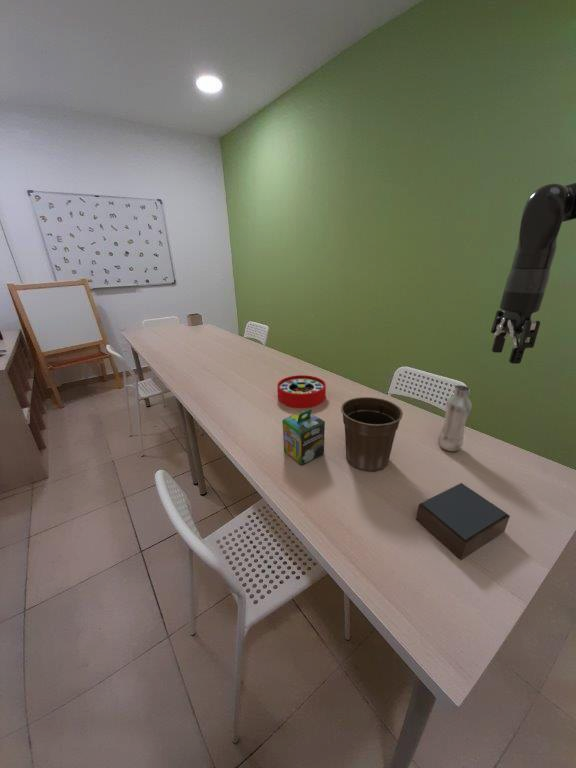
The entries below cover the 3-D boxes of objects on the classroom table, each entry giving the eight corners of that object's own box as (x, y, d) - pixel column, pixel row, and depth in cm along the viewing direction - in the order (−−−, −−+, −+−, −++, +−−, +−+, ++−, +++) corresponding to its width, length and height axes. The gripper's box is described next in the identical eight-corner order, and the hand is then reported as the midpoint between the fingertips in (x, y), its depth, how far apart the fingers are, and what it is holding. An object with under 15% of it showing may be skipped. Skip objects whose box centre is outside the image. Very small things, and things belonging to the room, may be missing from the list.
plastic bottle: (443, 439, 95) (455, 381, 87) (465, 448, 90) (480, 388, 82) (432, 446, 92) (444, 387, 84) (454, 457, 87) (469, 395, 79)
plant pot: (341, 439, 97) (343, 394, 90) (394, 445, 93) (400, 398, 87) (335, 471, 83) (338, 421, 76) (397, 480, 79) (405, 428, 72)
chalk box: (305, 440, 97) (305, 399, 91) (325, 454, 90) (326, 410, 84) (282, 451, 92) (280, 408, 86) (301, 466, 85) (300, 421, 79)
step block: (457, 497, 73) (461, 481, 71) (504, 531, 64) (510, 514, 62) (415, 519, 67) (418, 502, 65) (460, 560, 58) (466, 542, 56)
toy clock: (301, 399, 111) (267, 384, 124) (302, 413, 113) (268, 397, 127) (335, 383, 123) (301, 371, 137) (335, 396, 126) (301, 383, 139)
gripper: (564, 293, 61) (539, 368, 67) (524, 285, 74) (506, 349, 80) (524, 293, 62) (503, 367, 68) (491, 286, 75) (476, 348, 81)
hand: (504, 357), depth 74 cm, fingers open, 8 cm apart
